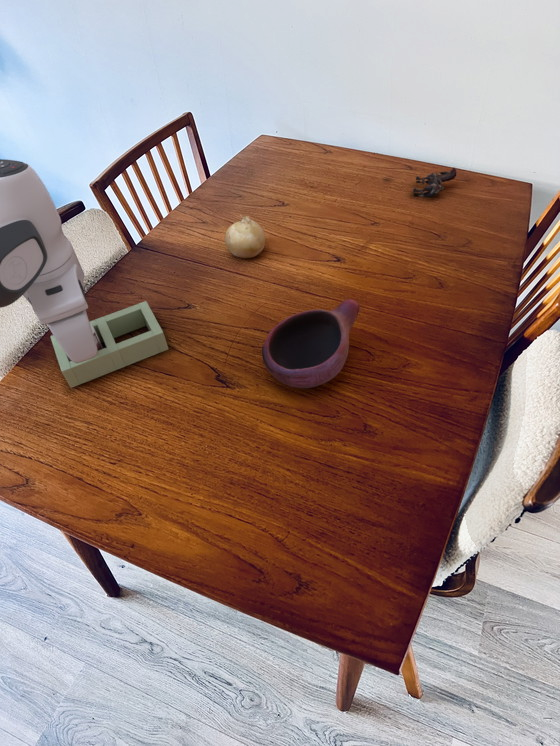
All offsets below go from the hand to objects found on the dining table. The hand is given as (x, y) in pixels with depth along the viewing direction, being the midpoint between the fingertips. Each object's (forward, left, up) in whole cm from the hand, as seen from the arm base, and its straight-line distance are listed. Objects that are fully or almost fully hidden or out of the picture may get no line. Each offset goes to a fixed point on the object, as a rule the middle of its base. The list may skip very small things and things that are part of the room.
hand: (83, 342), depth 83 cm
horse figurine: (+77, +13, -4) cm, 78 cm away
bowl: (+31, -19, -4) cm, 36 cm away
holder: (+4, 0, -4) cm, 6 cm away
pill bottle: (0, 0, -4) cm, 4 cm away
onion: (+35, +13, -4) cm, 37 cm away
